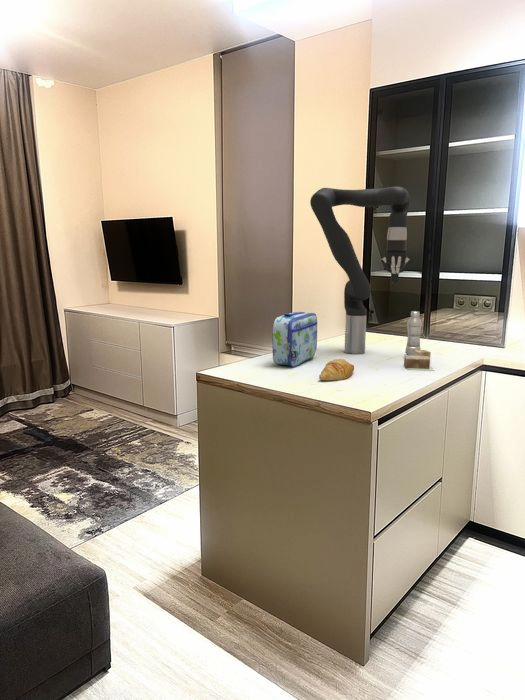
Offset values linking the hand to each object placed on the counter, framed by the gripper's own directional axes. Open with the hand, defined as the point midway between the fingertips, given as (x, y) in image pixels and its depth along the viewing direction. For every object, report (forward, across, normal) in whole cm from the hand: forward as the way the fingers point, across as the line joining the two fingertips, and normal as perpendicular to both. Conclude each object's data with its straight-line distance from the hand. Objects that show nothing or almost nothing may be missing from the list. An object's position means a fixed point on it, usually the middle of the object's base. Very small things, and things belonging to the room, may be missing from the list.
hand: (394, 282), depth 211 cm
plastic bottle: (+33, +11, +14) cm, 38 cm away
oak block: (+33, +13, +2) cm, 36 cm away
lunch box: (+33, -39, -6) cm, 52 cm away
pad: (+33, +10, -8) cm, 36 cm away
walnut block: (+31, +5, -8) cm, 32 cm away
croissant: (+34, -22, -29) cm, 49 cm away
